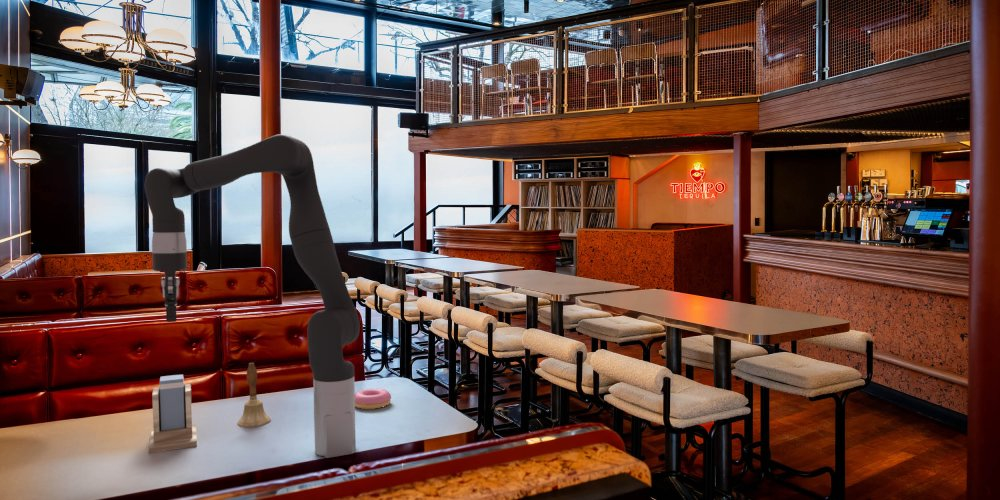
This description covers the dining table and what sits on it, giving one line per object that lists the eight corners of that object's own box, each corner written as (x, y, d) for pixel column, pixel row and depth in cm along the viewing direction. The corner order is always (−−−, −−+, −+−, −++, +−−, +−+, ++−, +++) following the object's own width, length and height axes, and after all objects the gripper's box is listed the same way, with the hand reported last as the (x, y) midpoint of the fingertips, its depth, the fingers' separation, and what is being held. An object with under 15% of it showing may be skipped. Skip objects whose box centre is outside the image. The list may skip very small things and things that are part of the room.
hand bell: (248, 429, 164) (246, 368, 163) (231, 423, 169) (229, 363, 168) (277, 421, 171) (275, 362, 170) (259, 415, 176) (257, 358, 175)
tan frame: (196, 445, 152) (195, 393, 152) (149, 453, 148) (147, 399, 147) (195, 428, 165) (194, 380, 164) (151, 434, 160) (150, 385, 160)
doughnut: (365, 413, 177) (365, 399, 177) (345, 405, 185) (345, 391, 185) (398, 405, 184) (398, 391, 184) (378, 398, 193) (378, 384, 192)
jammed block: (185, 435, 155) (183, 378, 154) (161, 439, 153) (159, 381, 152) (185, 429, 160) (183, 374, 159) (162, 432, 157) (160, 376, 157)
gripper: (187, 251, 152) (189, 324, 153) (186, 249, 164) (188, 316, 164) (151, 252, 148) (153, 326, 149) (152, 250, 160) (155, 318, 161)
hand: (171, 321), depth 157 cm, fingers closed
